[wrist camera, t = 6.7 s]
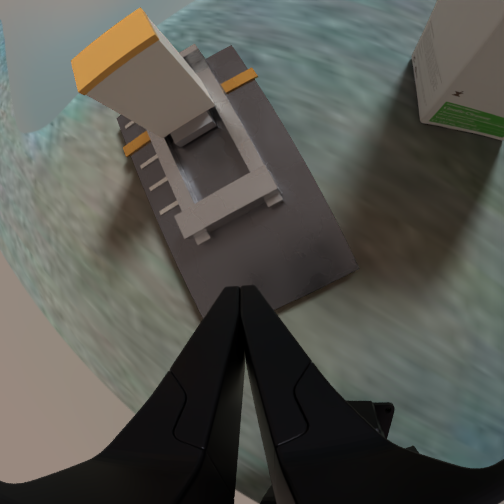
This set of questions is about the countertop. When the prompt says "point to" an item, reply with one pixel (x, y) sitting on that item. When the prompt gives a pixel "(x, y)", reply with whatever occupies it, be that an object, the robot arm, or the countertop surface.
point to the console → (239, 195)
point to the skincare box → (462, 67)
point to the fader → (145, 80)
